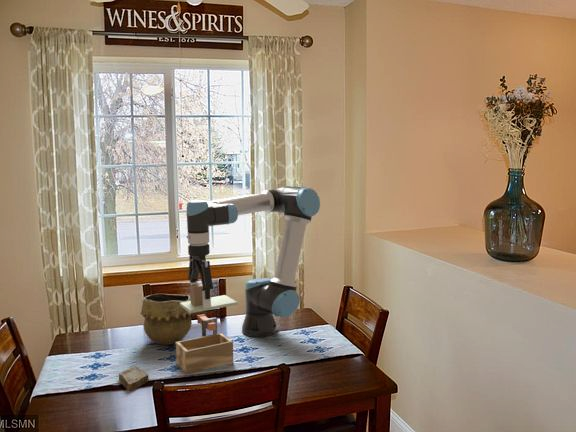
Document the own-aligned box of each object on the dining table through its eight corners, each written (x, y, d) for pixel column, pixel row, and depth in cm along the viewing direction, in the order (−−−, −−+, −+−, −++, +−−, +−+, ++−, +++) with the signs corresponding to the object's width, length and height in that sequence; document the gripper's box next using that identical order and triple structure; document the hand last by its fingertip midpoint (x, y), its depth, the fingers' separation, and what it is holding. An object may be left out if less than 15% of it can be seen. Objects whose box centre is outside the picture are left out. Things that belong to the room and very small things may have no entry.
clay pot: (161, 331, 215) (159, 286, 213) (204, 337, 208) (202, 290, 206) (130, 348, 196) (128, 299, 194) (177, 355, 189) (175, 304, 187)
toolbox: (176, 362, 182) (175, 342, 181) (221, 352, 191) (220, 332, 190) (186, 373, 173) (185, 351, 172) (233, 362, 182) (233, 341, 181)
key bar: (197, 323, 199) (197, 315, 198) (204, 321, 200) (204, 314, 200) (208, 331, 189) (208, 323, 188) (216, 330, 190) (216, 322, 190)
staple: (202, 351, 192) (201, 319, 191) (216, 348, 195) (215, 317, 194) (204, 353, 191) (203, 320, 189) (217, 350, 194) (216, 318, 192)
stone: (115, 376, 171) (115, 368, 171) (139, 370, 176) (138, 362, 176) (128, 393, 159) (128, 384, 159) (153, 386, 164) (153, 377, 164)
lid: (179, 305, 181) (178, 284, 180) (225, 297, 190) (224, 277, 189) (190, 313, 171) (189, 290, 170) (237, 304, 180) (236, 283, 179)
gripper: (177, 240, 184) (180, 297, 187) (200, 250, 164) (203, 313, 167) (196, 238, 188) (198, 294, 191) (221, 247, 168) (223, 310, 171)
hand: (200, 303), depth 179 cm, fingers closed on lid, 11 cm apart
